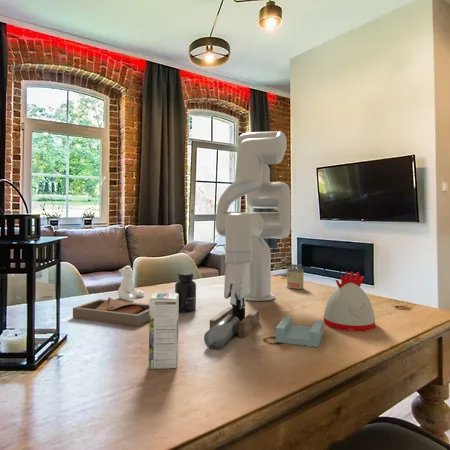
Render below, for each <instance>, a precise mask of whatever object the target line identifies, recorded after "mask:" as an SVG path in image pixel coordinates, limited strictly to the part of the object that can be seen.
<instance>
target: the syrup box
mask: <svg viewBox="0 0 450 450" xmlns="http://www.w3.org/2000/svg"><path fill="white" fill-rule="evenodd" d="M152 293H153V292H152ZM148 304H149V321H148V332H149V333H148V369H149V370H162V369H163V370H164V369H177V368H178V360H179V359H178V358H179V313H180V312H179V294H178V293H175V292H165V291H164V292H163V291H162V292H154V293H153V294H152V295H151V297H150V299H149V303H148Z"/></svg>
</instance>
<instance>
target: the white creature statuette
mask: <svg viewBox="0 0 450 450" xmlns="http://www.w3.org/2000/svg"><path fill="white" fill-rule="evenodd" d="M118 271H119V272H118V273H120V274H121V276H122V279H121V281H120V286H119V287H118V289H117V296H118V298H119V299H120V300H122V301H125V302H132V303H133V302H134V301H135V299H137V298H144V297H145V291H142V290H140V289H136V287H135V282H134V279H133V276H134V273H135V272H134V271H133V268H132V267H131V265H126V266H124V267H122V268H120V269H118Z"/></svg>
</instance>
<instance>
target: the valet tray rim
mask: <svg viewBox="0 0 450 450" xmlns="http://www.w3.org/2000/svg"><path fill="white" fill-rule="evenodd" d="M106 300H107V299H102V298H99V299H96V300H93V301H90V302H87V303H84V304H81V305H77V306H75V307H72V319H77V320H85V321H95V322H102V323H109V324H116V325H124V326H130V327H136V328H137V327H140V326H141V325H145V324H146V323H149V303H140V302H139V303H138V302H133V301H132V302H129V301H126V302H127V303H131V304H137V305H141V306H143V307H144V308H145V309H146V310H145V311H143V312H141V313H139V314H130V313H121V312H113V311H105V310H96V308H97V307H99V306H100V305H101V304H102V303H104V302H105V301H106ZM122 322H124V323H122Z"/></svg>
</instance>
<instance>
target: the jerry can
mask: <svg viewBox="0 0 450 450" xmlns="http://www.w3.org/2000/svg"><path fill="white" fill-rule="evenodd" d="M289 266H290V267H288V268H286V288H287V289H295V290H304V289H305V288H304V273H305V271H304V269H303V268H302V267H303V266H302V264H295V263H294V264H293V263H291V264H289Z"/></svg>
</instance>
